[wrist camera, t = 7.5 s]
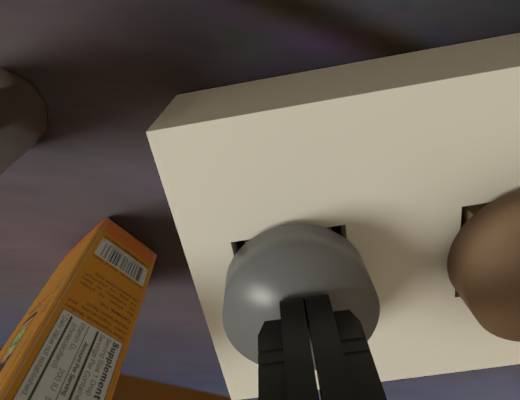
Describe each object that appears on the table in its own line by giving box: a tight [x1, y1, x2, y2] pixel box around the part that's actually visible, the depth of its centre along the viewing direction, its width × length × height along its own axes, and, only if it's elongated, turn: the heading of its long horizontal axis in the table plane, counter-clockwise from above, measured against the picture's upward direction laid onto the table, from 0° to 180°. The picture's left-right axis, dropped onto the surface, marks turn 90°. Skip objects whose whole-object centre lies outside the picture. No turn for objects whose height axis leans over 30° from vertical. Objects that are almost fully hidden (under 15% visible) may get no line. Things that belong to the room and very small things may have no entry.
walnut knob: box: [447, 190, 520, 342], centre depth 14 cm, size 5×5×6 cm
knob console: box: [146, 33, 520, 400], centre depth 15 cm, size 22×12×5 cm, turn 100°
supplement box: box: [0, 218, 157, 400], centre depth 14 cm, size 3×3×10 cm
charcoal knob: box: [222, 224, 380, 370], centre depth 14 cm, size 5×5×6 cm
